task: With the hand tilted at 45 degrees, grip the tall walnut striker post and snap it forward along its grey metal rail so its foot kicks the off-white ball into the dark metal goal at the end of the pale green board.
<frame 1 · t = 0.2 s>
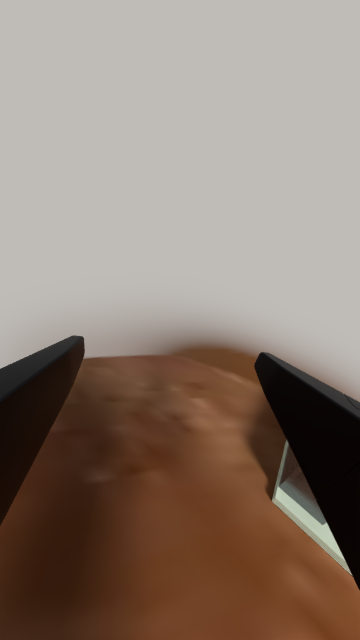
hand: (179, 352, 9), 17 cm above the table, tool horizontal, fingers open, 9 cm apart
goal: (308, 459, 21), resting on pitch
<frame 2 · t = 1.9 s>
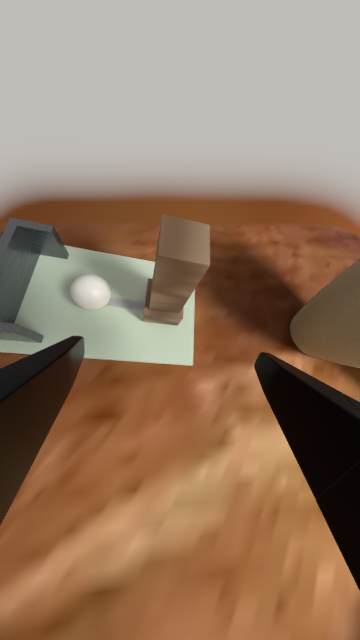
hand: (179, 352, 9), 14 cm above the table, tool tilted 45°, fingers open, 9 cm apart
goal: (41, 292, 20), resting on pitch
striker: (169, 284, 17), point 7 cm above the table, slide at 0.0 cm
pitch: (114, 304, 23), on the table
plant pot: (306, 335, 29), on the table
ball: (91, 292, 20), point 3 cm above the table, touching pitch
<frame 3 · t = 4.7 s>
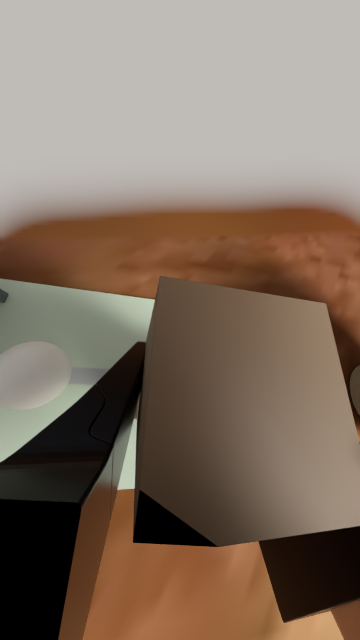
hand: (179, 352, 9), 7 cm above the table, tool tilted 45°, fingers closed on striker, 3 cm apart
striker: (177, 381, 8), point 7 cm above the table, slide at 0.0 cm, touching gripper
pitch: (84, 375, 14), on the table
ball: (33, 373, 11), point 3 cm above the table, touching pitch
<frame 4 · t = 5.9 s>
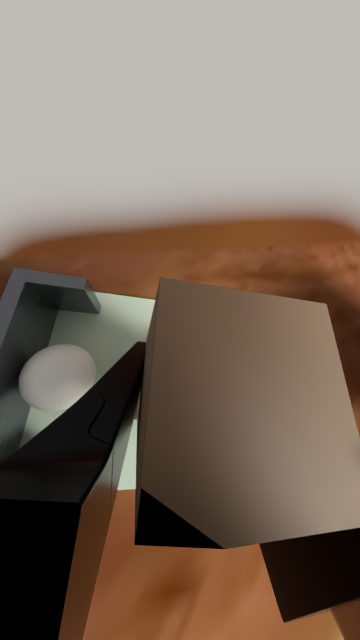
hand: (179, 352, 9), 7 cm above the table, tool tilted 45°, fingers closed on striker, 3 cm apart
goal: (63, 375, 13), resting on pitch
striker: (177, 381, 8), point 7 cm above the table, slide at 6.9 cm, touching gripper
pitch: (169, 380, 15), on the table
ball: (61, 375, 11), point 3 cm above the table, tilted 147°, touching pitch
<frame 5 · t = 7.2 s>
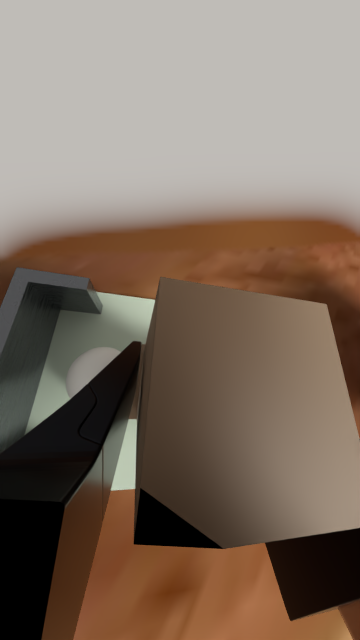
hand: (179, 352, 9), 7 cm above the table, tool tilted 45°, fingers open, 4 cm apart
goal: (65, 375, 13), resting on pitch
striker: (177, 381, 8), point 7 cm above the table, slide at 7.0 cm
pitch: (171, 380, 15), on the table
ball: (101, 377, 12), point 3 cm above the table, tilted 81°, touching pitch
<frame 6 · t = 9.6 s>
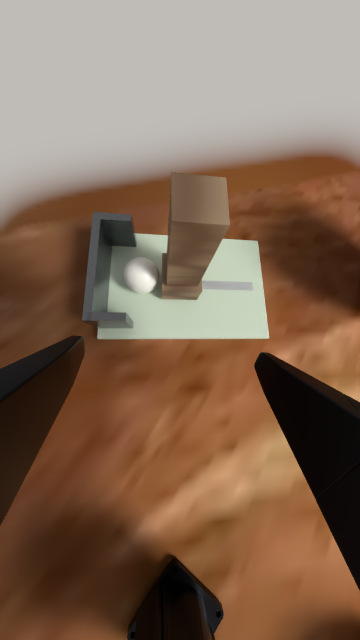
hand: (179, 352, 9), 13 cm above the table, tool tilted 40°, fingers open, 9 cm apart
goal: (122, 282, 22), resting on pitch
striker: (185, 256, 16), point 7 cm above the table, slide at 7.0 cm
pitch: (185, 286, 23), on the table
ball: (141, 275, 20), point 3 cm above the table, tilted 89°, touching pitch
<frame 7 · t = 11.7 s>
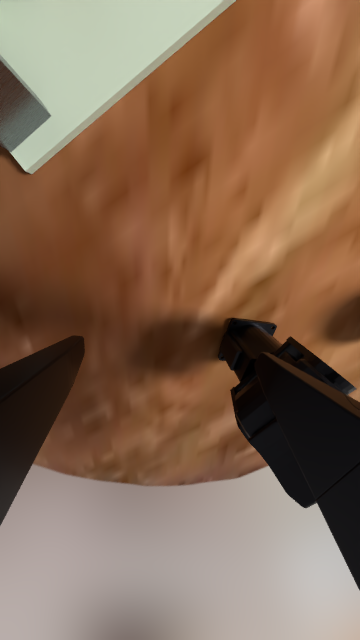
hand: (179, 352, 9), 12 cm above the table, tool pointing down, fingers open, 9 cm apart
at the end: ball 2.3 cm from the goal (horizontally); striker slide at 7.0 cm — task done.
